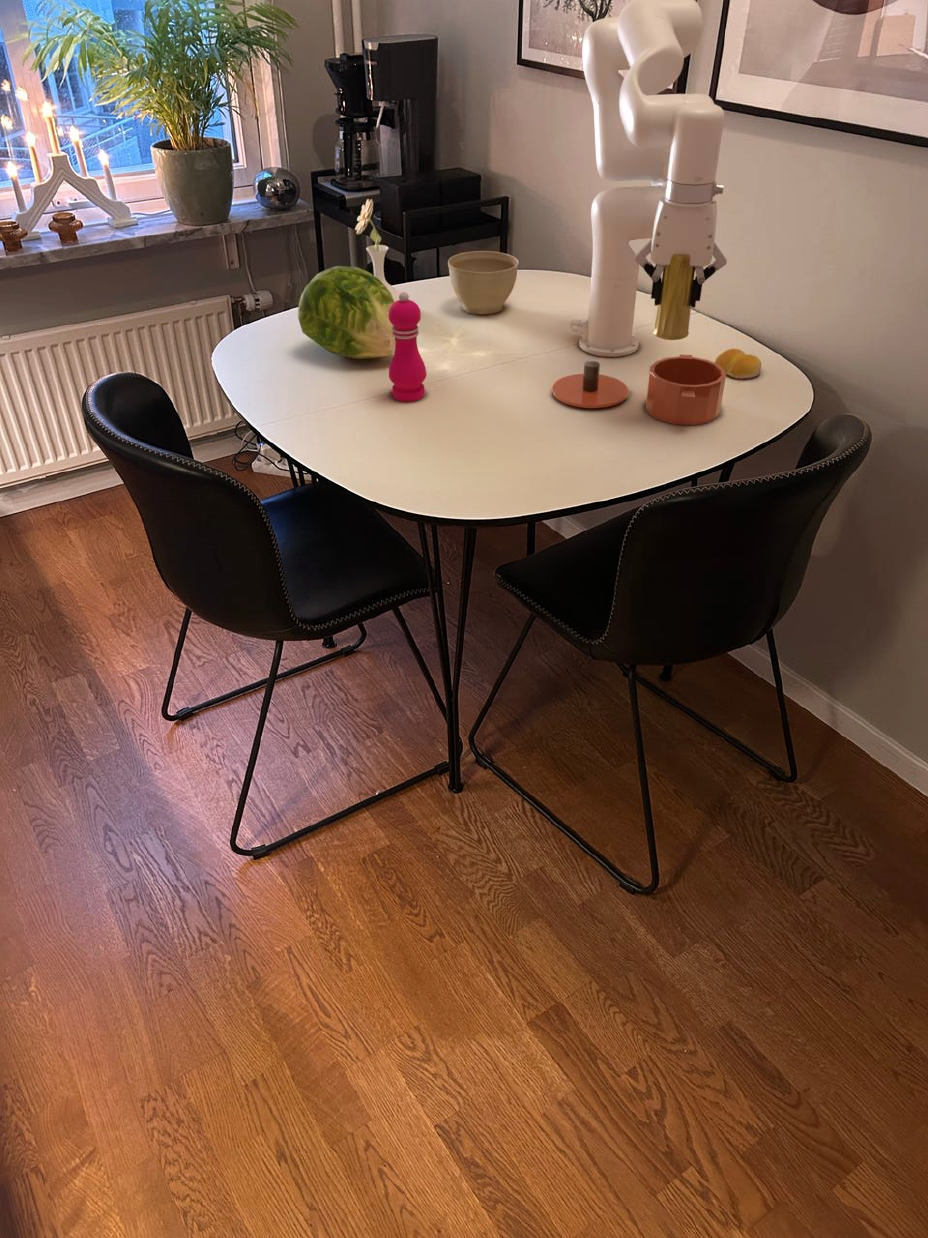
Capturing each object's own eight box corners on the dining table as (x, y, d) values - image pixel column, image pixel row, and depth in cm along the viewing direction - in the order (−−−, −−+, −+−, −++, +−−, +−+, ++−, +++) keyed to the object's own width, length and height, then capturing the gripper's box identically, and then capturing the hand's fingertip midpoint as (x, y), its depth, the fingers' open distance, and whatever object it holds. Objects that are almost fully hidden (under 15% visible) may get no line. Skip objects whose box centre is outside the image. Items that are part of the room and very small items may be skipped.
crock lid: (548, 408, 176) (550, 377, 172) (555, 377, 187) (556, 347, 184) (626, 413, 174) (629, 381, 170) (628, 381, 185) (631, 351, 182)
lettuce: (366, 346, 180) (415, 270, 183) (271, 304, 187) (320, 232, 190) (389, 394, 197) (434, 324, 200) (302, 354, 204) (347, 287, 207)
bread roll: (744, 383, 184) (748, 364, 181) (708, 369, 189) (711, 350, 187) (769, 372, 188) (773, 353, 186) (732, 358, 193) (736, 340, 191)
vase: (666, 342, 160) (677, 258, 151) (645, 331, 164) (655, 248, 156) (695, 336, 162) (707, 252, 153) (673, 324, 167) (684, 242, 158)
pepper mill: (432, 389, 183) (429, 287, 171) (419, 404, 178) (414, 300, 166) (398, 385, 185) (392, 283, 173) (384, 399, 180) (377, 296, 168)
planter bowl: (518, 320, 212) (519, 271, 206) (448, 320, 213) (447, 272, 206) (516, 296, 225) (517, 249, 218) (449, 296, 225) (448, 250, 219)
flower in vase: (363, 299, 225) (354, 188, 209) (409, 300, 223) (404, 189, 208) (350, 318, 215) (340, 203, 199) (399, 320, 213) (392, 204, 198)
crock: (645, 429, 169) (649, 390, 164) (646, 385, 184) (650, 349, 179) (721, 433, 167) (728, 394, 162) (716, 389, 182) (722, 352, 177)
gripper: (743, 187, 150) (724, 298, 162) (636, 183, 153) (625, 293, 164) (745, 199, 145) (726, 314, 156) (634, 195, 147) (623, 308, 158)
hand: (674, 302), depth 160 cm, fingers closed on vase, 5 cm apart
